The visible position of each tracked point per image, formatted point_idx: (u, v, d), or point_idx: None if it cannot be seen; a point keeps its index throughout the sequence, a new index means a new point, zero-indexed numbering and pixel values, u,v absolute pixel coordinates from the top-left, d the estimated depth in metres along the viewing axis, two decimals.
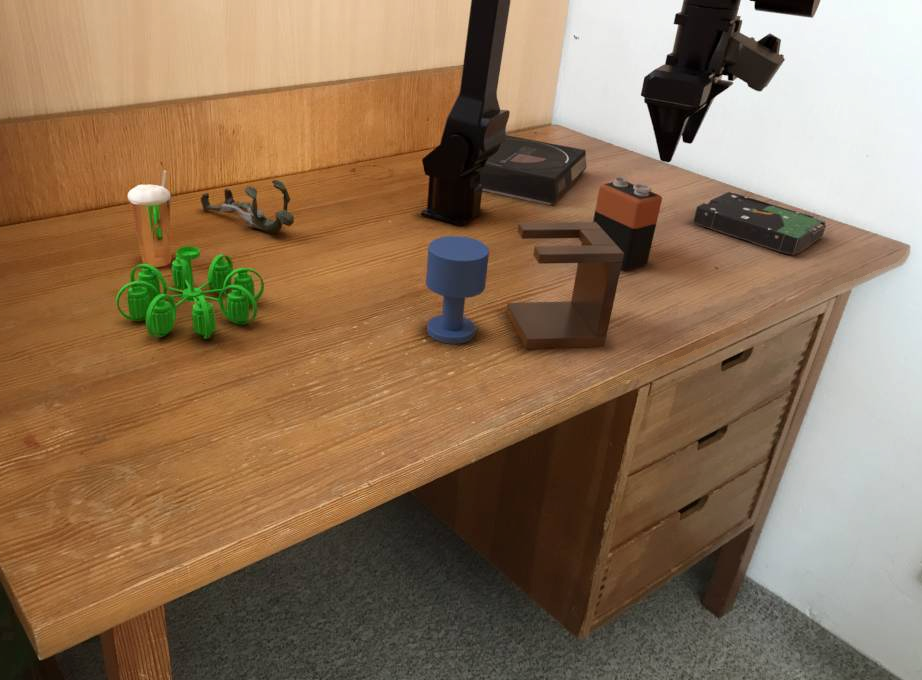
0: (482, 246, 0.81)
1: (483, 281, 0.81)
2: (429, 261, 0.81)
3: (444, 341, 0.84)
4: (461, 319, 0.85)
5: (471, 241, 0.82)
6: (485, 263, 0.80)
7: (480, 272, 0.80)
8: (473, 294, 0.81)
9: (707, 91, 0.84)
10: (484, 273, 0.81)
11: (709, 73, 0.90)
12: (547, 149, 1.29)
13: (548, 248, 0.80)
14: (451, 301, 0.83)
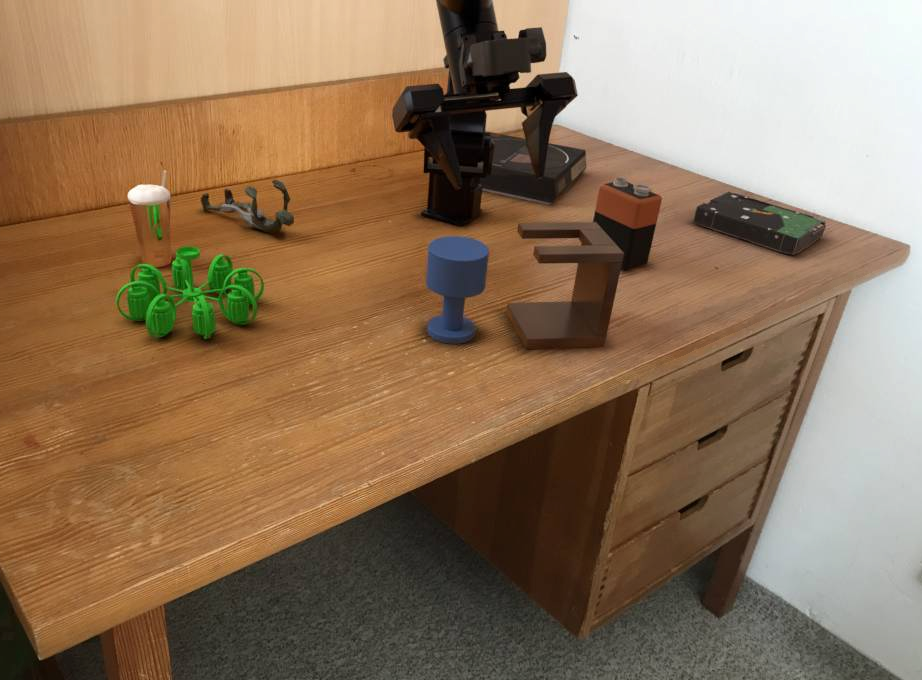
0: (482, 246, 0.81)
1: (483, 281, 0.81)
2: (429, 261, 0.81)
3: (444, 341, 0.84)
4: (461, 319, 0.85)
5: (471, 241, 0.82)
6: (485, 263, 0.80)
7: (480, 272, 0.80)
8: (473, 294, 0.81)
9: (433, 97, 0.81)
10: (484, 273, 0.81)
11: None
12: None
13: (548, 248, 0.80)
14: (451, 301, 0.83)
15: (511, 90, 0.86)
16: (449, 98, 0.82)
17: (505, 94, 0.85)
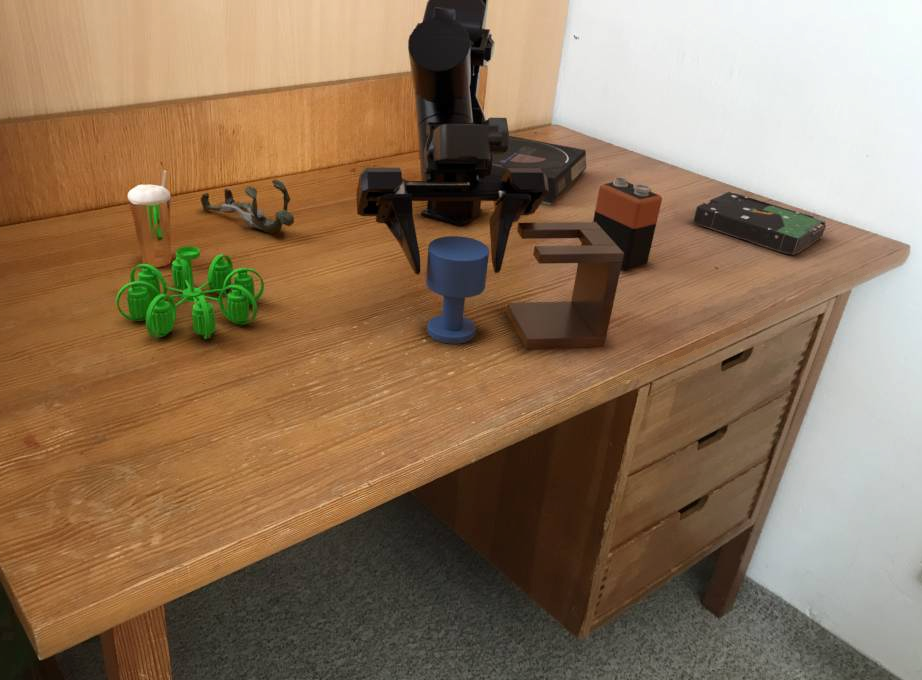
0: (482, 246, 0.81)
1: (483, 281, 0.81)
2: (429, 261, 0.81)
3: (444, 341, 0.84)
4: (461, 319, 0.85)
5: (471, 241, 0.82)
6: (485, 263, 0.80)
7: (480, 272, 0.80)
8: (473, 294, 0.81)
9: (390, 179, 0.79)
10: (484, 273, 0.81)
11: None
12: (547, 149, 1.29)
13: (548, 248, 0.80)
14: (451, 301, 0.83)
15: (480, 182, 0.83)
16: (416, 183, 0.80)
17: (474, 186, 0.83)
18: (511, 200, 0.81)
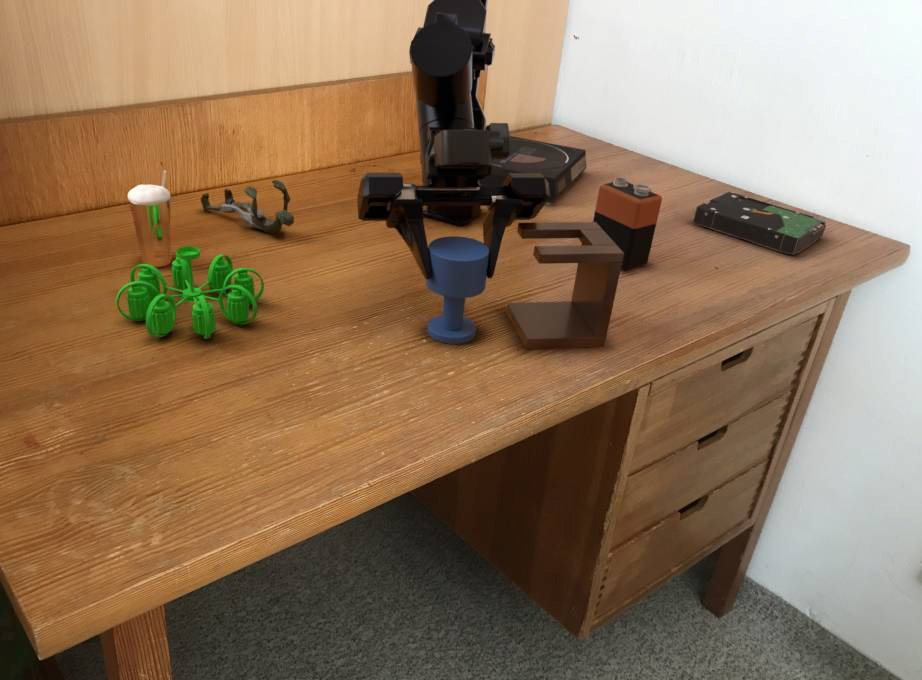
0: (482, 246, 0.81)
1: (483, 281, 0.81)
2: None
3: (444, 341, 0.84)
4: (461, 319, 0.84)
5: (471, 241, 0.82)
6: (485, 263, 0.80)
7: (480, 272, 0.80)
8: (473, 294, 0.81)
9: (391, 184, 0.79)
10: (484, 273, 0.81)
11: None
12: (547, 149, 1.29)
13: (548, 248, 0.80)
14: (452, 301, 0.83)
15: (482, 187, 0.83)
16: (426, 188, 0.81)
17: None
18: (504, 205, 0.81)
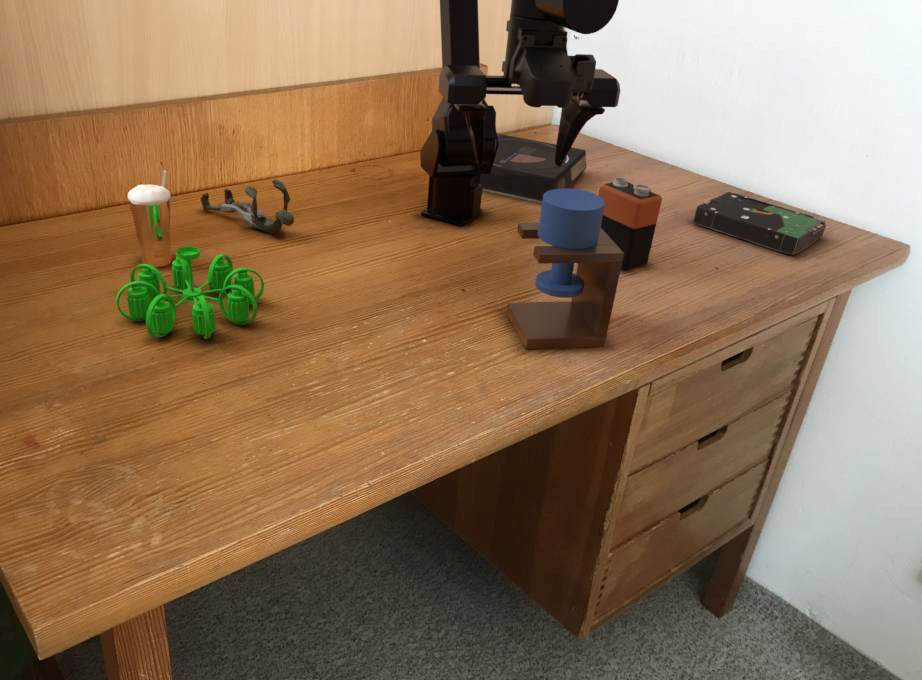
0: (597, 198, 0.81)
1: (598, 233, 0.80)
2: (544, 212, 0.80)
3: (555, 295, 0.83)
4: (571, 273, 0.84)
5: (585, 193, 0.81)
6: (601, 214, 0.79)
7: (597, 222, 0.79)
8: (588, 246, 0.80)
9: (475, 93, 0.84)
10: (600, 224, 0.80)
11: None
12: (547, 149, 1.29)
13: (548, 248, 0.80)
14: None
15: None
16: (492, 89, 0.86)
17: None
18: (586, 114, 0.88)
